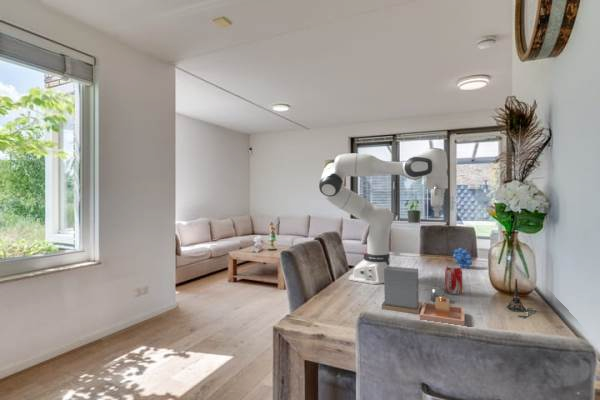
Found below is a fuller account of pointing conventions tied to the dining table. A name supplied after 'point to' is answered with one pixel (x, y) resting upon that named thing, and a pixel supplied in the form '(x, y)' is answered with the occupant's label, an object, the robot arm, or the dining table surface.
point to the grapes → (462, 258)
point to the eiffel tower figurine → (519, 304)
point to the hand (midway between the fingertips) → (437, 216)
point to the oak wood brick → (442, 307)
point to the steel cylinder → (436, 293)
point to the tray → (455, 317)
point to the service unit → (401, 290)
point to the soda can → (453, 279)
